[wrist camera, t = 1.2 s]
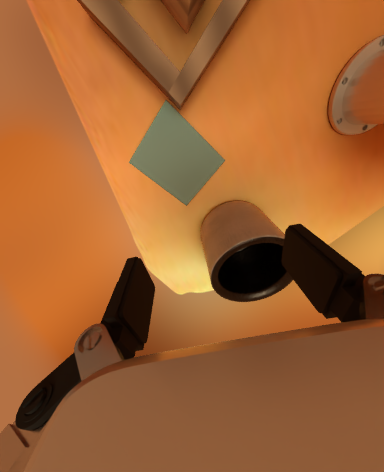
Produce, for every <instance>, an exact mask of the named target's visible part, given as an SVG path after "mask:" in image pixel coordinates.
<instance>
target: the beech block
mask: <svg viewBox="0 0 384 472" xmlns="http://www.w3.org/2000/svg"><path fill="white" fill-rule="evenodd" d="M161 1H162V2H163V4H164V5H165V6H166V8H167V9H168V10H169V12H170V13H171V14H172V15H173V17H174V18H175V19H176V21H177V22H178V23H179V25H180V26H181V27H182V28H183V30H184V31H185V32H186V34H187V32H188V30H189V28H190V26H191V25H192V23H193V21H194V19H195V17H196V15H197V14H198V12H199V10H200V8H201V6H202V5H203V3H204V1H205V0H161Z"/></svg>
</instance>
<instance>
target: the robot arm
mask: <svg viewBox="0 0 384 472" xmlns="http://www.w3.org/2000/svg"><path fill="white" fill-rule="evenodd" d="M328 115H329V121H330V123H331V125H332V127H333V128H334V129H335V131H337V132H338V133H340V134H344V135H355V134H360V133H364V132H366V131H368V130H370V129H372V128H373V127H375V126H376V125H378V124H384V35H382V36H380V37H378V38H376V39H374V40H372V41H371V42H369V43H367V44H366V45H365V46H364V47H362V48H361V49H360V50H359V51H358V52H357V53H356V54H355V55H354V56H353V57H352V58H351V59H350V60H349V62H348V63H347V64H346V66H345V67H344V68H343V70H342V72H341V73H340V75H339V77H338V78H337V81H336V83H335V85H334V87H333V90H332V93H331V96H330V101H329V106H328ZM281 262H282V265H283V266H284V268H285V269H286V270H287V272H288V273H289V274H290V276H291V277H292V278H293V280H294V281H295V282H296V284H298V286H299V287H300V289H301V290H302V291H303V293H304V294H305V295H306V297H307V298H308V299H309V300H310V302H311V303H312V305H313V306H314V307H315V308H316V310H317V311H318V312H319V313H322V314H323V315H324V316H325V317H326V319H328V318H334V317H338V319H339V320H340V321H341V323H336V324H329V325H322V326H316V327H310V328H303V329H298V330H291V331H285V332H279V333H273V334H267V335H260V336H255V337H248V338H242V339H237V340H230V341H225V342H218V343H212V344H207V345H201V346H195V347H190V348H183V349H177V350H172V351H166V352H161V353H156V354H150V355H146V356H140V357H135V358H134V356H135V351H139V350H143V348H144V343H146V342H147V338H148V332H149V325H150V319H151V312H152V306H153V299H154V292H155V286H154V283H153V281H152V280H151V278H150V275H149V273H148V271H147V270H146V268H145V266H144V264H143V262H142V260H141V259H140V258H138V257H133V258H128V259H127V261H126V263H125V266H124V268H123V271H122V273H121V276H120V278H119V281H118V282H117V284H116V287H115V289H114V291H113V294H112V296H111V299H110V302H109V304H108V306H107V308H106V311H105V313H104V316H103V318H102V321H101V323H100V324H94V325H92V326H90V327H89V328H87V329H86V330H85V331H84V332H83V333H82V334H81V335H80V336H79V338H78V340H77V341H76V343H75V347H74V353H73V354H72V355H71V356H70V357H68V358H67V359H66V360H65V361H64V362H63V363H62V364H60V365H59V366H58V367H57V368H56V369H55V370H54V371H53V372H51V373H50V374H49V375H48V376H47V377H46V378H45V379H44V380H42V381H41V382H40V383H39V384H38V385H37V386H36V387H35V388H34V389H33V390H32V391H31V392H30V393H29V394H28V395H27V396H26V398H25V399H24V400H23V402H22V404H21V406H20V407H19V410H18V412H17V415H16V421H15V422H14V423H13V424H8V425H7V426H6V427H5V429H4V430H3V431H2V432H1V433H0V472H384V275H382V274H369V275H367V276H364V275H363V274H362V271H360V270H359V269H358V268H357V267H356V266H354V265H353V264H352V263H350V262H349V261H348V260H346V259H345V258H344V257H343V256H341V255H340V254H339V253H338V252H336V251H335V250H334V249H332V248H331V247H330V246H329V245H327V244H326V243H325V242H323V241H322V240H321V239H320V238H318V237H317V236H316V235H314V234H313V233H312V232H311V231H309V230H308V229H307V228H305V227H304V226H303V225H301V224H295V225H290V226H289V227H288V228H287V229H286V231H285V238H284V245H283V252H282V259H281Z"/></svg>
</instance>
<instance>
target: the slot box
mask: <svg viewBox="0 0 384 472" xmlns="http://www.w3.org/2000/svg"><path fill="white" fill-rule="evenodd" d="M77 1H78V2H79V3H80V4H81V6H82V7H83V8H84V10H85V11H86V12H87V13H88V15H89V16H90V17H91V18H92V19H93V20H94V21H95V22H96V23H97V24H98V25H99V26H100V27H101V28H102V29H103V31H104V32H105V33H106V34H107V35H108V36H109V37H110V38H111V39H112V40H113V41H114V42H115V43H116V44H117V45H118V46H119V47H120V48H121V49H122V50H123V51H124V52H125V53H126V54H127V55H128V56H129V57H130V58H131V60H132V61H133V62H134V63H135V64H136V65H137V66H138V67H139V68H140V69H141V70H142V71H143V72H144V73H145V74H146V75H147V76H148V77H149V78H150V79H151V80H152V81H153V82H154V83H155V84H156V85H157V86H158V87H159V89H160V90H161V91H162V92H163V93H164V94H165V95H166V96H167V97H168V98H169V99H170V100H171V101H172V102H173V103H174V104H175V105H176V106H177V107H178V108H179V109H181V108H182V106H183V105H184V103H185V101H186V100H187V98H188V97H189V95H190V94H191V92H192V90H193V89H194V87H195V86H196V84H197V83H198V81H199V80H200V78H201V76H202V75H203V73H204V72H205V70H206V69H207V67H208V65H209V64H210V62H211V61H212V59H213V58H214V56H215V54H216V53H217V51H218V50H219V48H220V47H221V45H222V44H223V42H224V40H225V39H226V37H227V36H228V34H229V33H230V31H231V29H232V28H233V26H234V25H235V23H236V22H237V20H238V18H239V17H240V15H241V14H242V12H243V11H244V9H245V8H246V6H247V4H248V3H249V1H250V0H222V2H221V4H220V5H219V7H218V9H217V11H216V12H215V14H214V16H213V17H212V19H211V21H210V22H209V24H208V26H207V28H206V29H205V31H204V33H203V34H202V36H201V38H200V40H199V41H198V43H197V45H196V46H195V48H194V50H193V52H192V53H191V55H190V57H189V58H188V60H187V62H186V63H185V65H184V67H183V69H182V70H181V72H179V70H178V69H177V68H176V67H175V66H174V65H173V64H172V62H171V61H170V60H169V59H168V58H167V57H166V55H165V54H164V53H163V52H162V51H161V50H160V49H159V47H158V46H157V45H156V44H155V43H154V42H153V40H152V39H151V38H150V37H149V36H148V35H147V34H146V32H145V31H144V30H143V29H142V28H141V27H140V25H139V24H138V23H137V22H136V21H135V20H134V19H133V17H132V16H131V15H130V14H129V13H128V12H127V10H126V9H125V8H124V7H123V6H122V5H121V4H120V2H119V1H118V0H77Z"/></svg>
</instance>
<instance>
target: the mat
mask: <svg viewBox="0 0 384 472" xmlns="http://www.w3.org/2000/svg"><path fill="white" fill-rule="evenodd" d="M224 161H225V160H224V159H223V158H222V157H221V156H220V155H219V154H218V153H217V152H216V151H215V150H214V148H213V147H212V146H211V145H210V144H209V143H208V142H207V141H206V140H205V139H204V138H203V137H202V136H201V135H200V134H199V133H198V132H197V131H196V130H195V129H194V128H193V127H192V126H191V125H190V124H189V123H188V122H187V121H186V120H185V119H184V118H183V117H182V116H181V115H180V114H179V113H178V112H177V111H176V110H175V109H174V108H173V107H172V106H171V105H170V104H169V102H168V101H167V100H166V101H165V102H164V104H163V106H162V107H161V109H160V111H159V112H158V114H157V116H156V117H155V119H154V121H153V123H152V124H151V126H150V128H149V129H148V131H147V133H146V134H145V136H144V138H143V140H142V141H141V143H140V145H139V146H138V148H137V150H136V151H135V153H134V155H133V156H132V158H131V160H130V162H129V163H130V164H132V165H133V166H134V167H136V168H137V169H138V170H140V171H141V172H142V173H144V174H145V175H146V176H148V177H149V178H150V179H152V180H153V181H154V182H156V183H157V184H158V185H160V186H161V187H162V188H164V189H165V190H166V191H168V192H169V193H170V194H172V195H173V196H174V197H176V198H177V199H178V200H180V201H181V202H182V203H184V204H185V205H186V206H187V205H188V203H189V202H190V201H191V200H192V199H193V198H194V196H195V195H196V194H197V193H198V192H199V190H200V189H201V188H202V187H203V186H204V185H205V183H206V182H207V181H208V180H209V179H210V178H211V176H212V175H213V174H214V173H215V172H216V171H217V169H218V168H219V167H220V166H221V165H222V164H223V162H224Z"/></svg>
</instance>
